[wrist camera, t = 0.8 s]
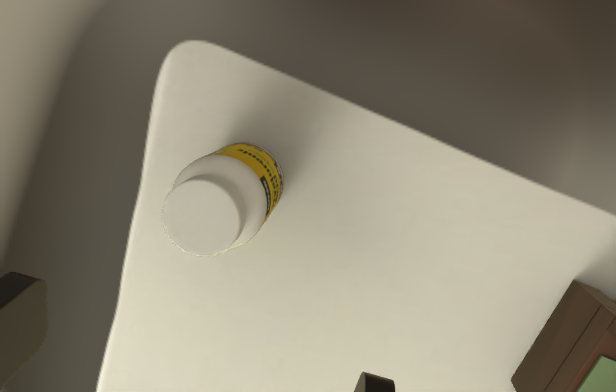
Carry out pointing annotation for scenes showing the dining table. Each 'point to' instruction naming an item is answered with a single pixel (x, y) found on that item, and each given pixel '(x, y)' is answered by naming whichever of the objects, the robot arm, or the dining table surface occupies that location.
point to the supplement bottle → (222, 199)
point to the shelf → (573, 346)
